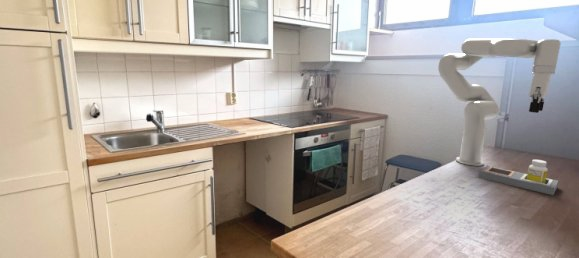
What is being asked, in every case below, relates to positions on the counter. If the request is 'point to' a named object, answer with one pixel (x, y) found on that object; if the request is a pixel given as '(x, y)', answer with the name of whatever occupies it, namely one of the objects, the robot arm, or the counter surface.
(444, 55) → the robot arm
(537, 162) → the pill bottle
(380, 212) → the counter surface
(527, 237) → the counter surface
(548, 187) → the socket stand
